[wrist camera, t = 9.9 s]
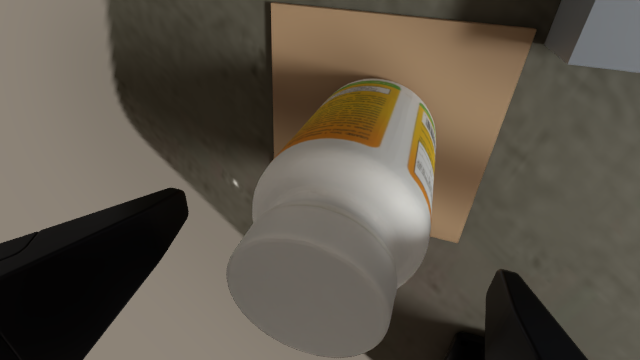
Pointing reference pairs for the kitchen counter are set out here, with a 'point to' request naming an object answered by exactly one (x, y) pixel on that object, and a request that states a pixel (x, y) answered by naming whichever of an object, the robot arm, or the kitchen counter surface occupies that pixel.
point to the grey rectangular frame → (597, 34)
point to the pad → (404, 83)
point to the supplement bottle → (339, 222)
